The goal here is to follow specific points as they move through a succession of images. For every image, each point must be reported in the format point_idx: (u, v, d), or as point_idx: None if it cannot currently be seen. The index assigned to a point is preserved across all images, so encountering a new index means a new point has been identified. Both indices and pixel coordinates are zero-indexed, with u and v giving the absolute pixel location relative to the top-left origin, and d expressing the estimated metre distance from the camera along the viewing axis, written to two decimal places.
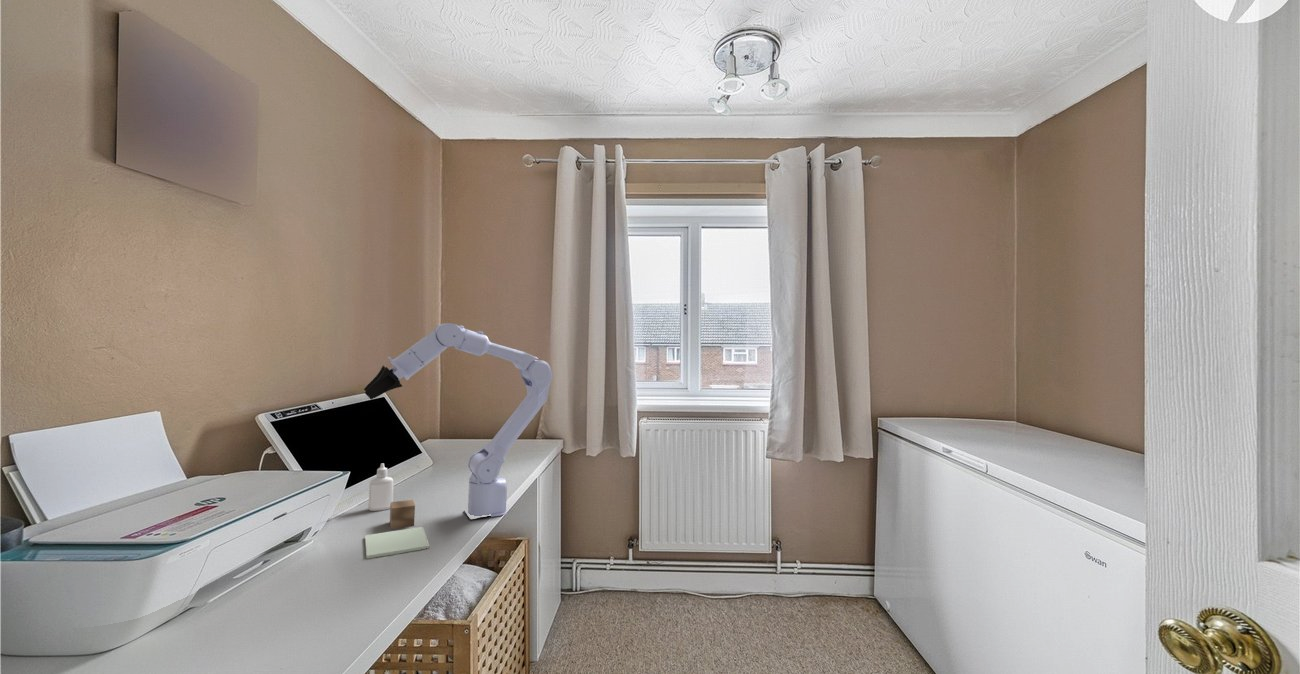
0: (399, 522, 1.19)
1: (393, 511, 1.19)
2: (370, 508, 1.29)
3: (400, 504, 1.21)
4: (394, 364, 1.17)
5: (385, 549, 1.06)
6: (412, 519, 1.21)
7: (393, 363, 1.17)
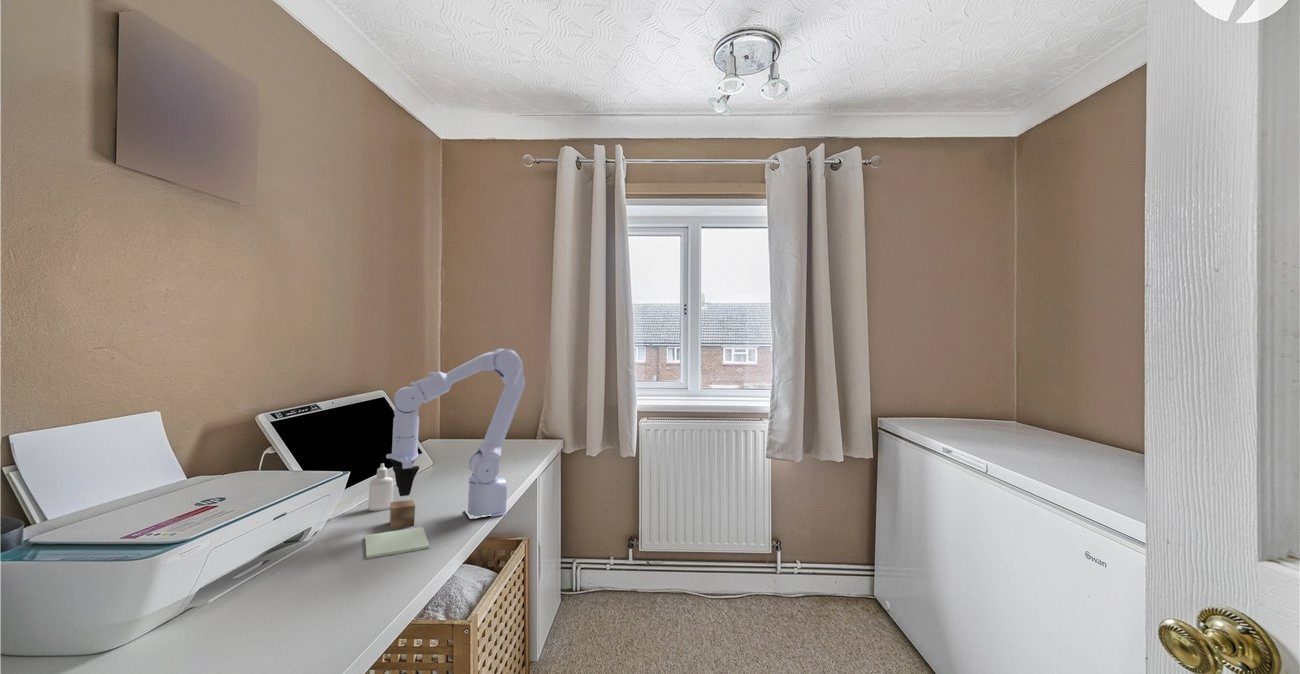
0: (399, 522, 1.19)
1: (393, 511, 1.19)
2: (370, 508, 1.29)
3: (400, 504, 1.21)
4: (396, 459, 1.18)
5: (385, 549, 1.06)
6: (412, 519, 1.21)
7: (394, 458, 1.19)
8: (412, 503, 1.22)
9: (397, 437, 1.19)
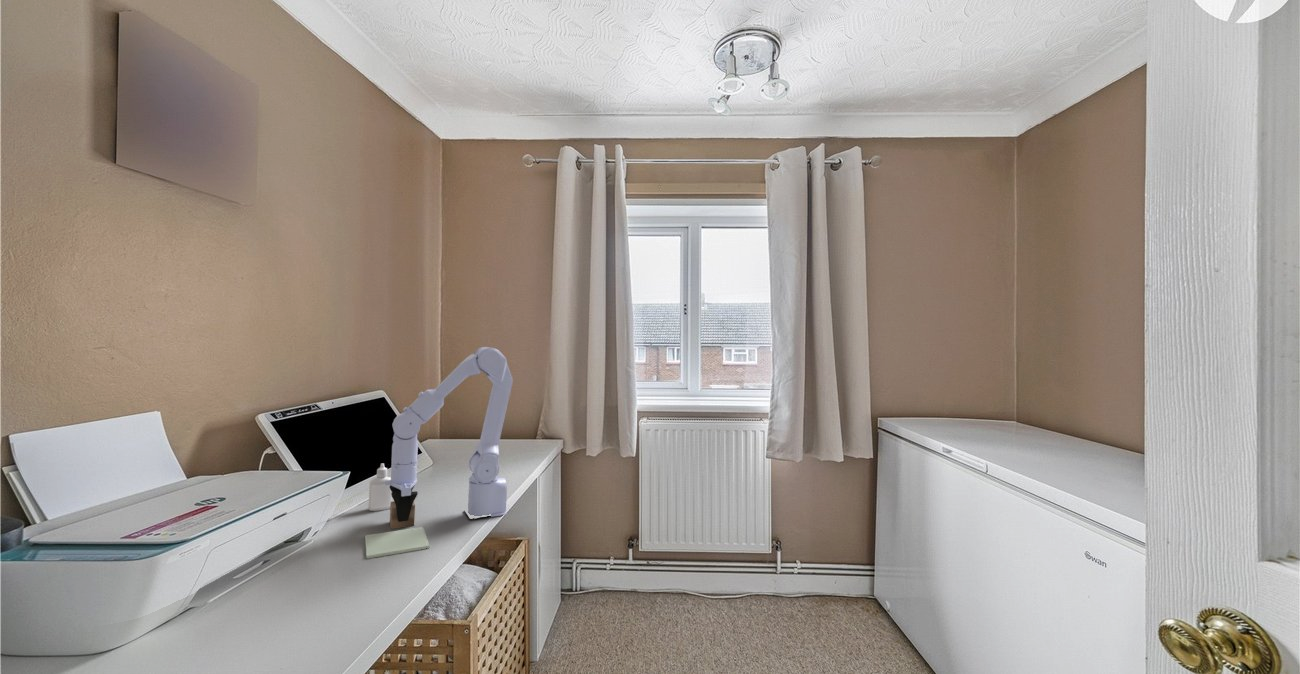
0: (399, 522, 1.19)
1: (393, 511, 1.19)
2: (370, 508, 1.29)
3: None
4: (395, 486, 1.18)
5: (385, 549, 1.06)
6: (412, 519, 1.21)
7: (393, 485, 1.19)
8: None
9: (396, 464, 1.19)
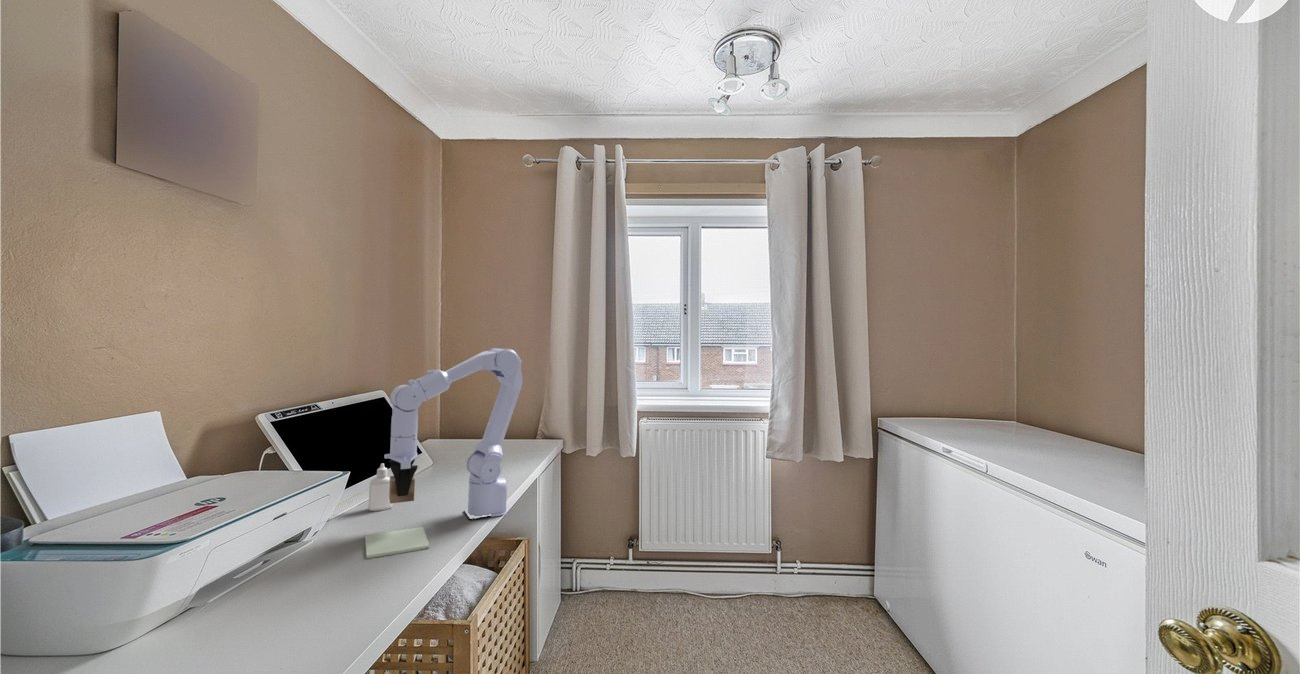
0: (399, 496, 1.16)
1: (392, 485, 1.15)
2: (370, 508, 1.29)
3: None
4: (394, 459, 1.15)
5: (385, 549, 1.06)
6: (412, 493, 1.17)
7: (393, 458, 1.15)
8: None
9: (395, 436, 1.16)
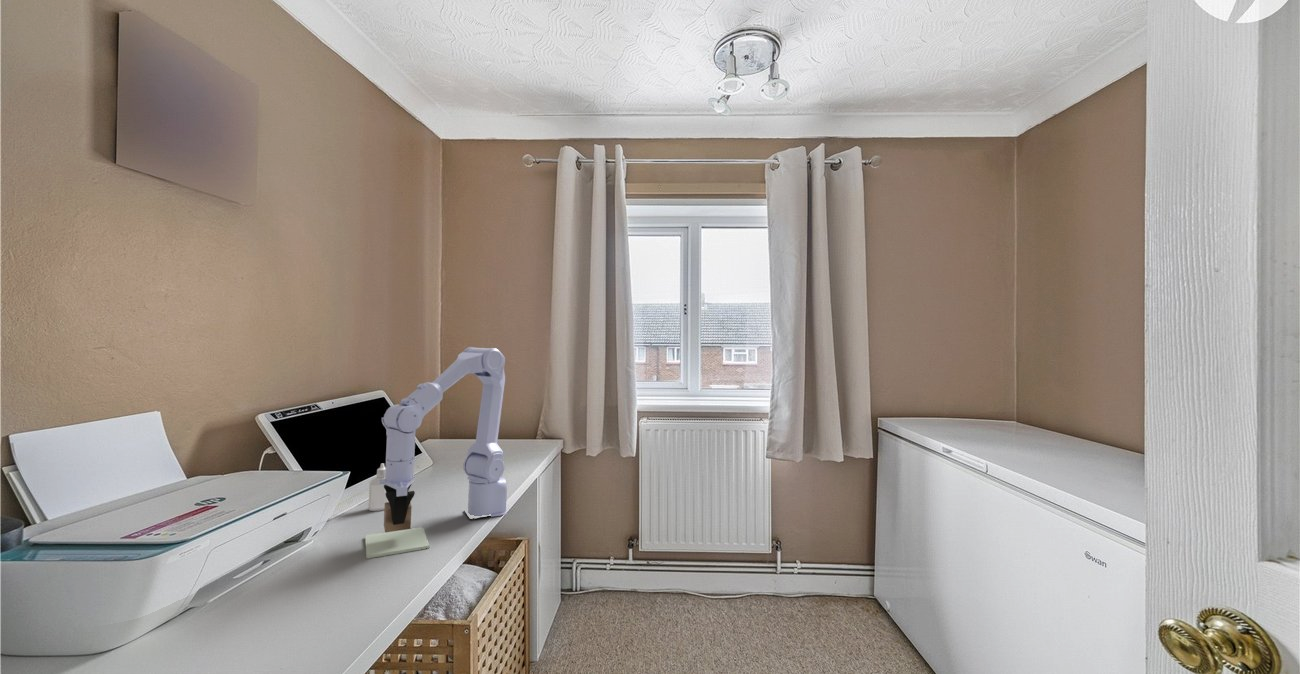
0: (394, 525, 1.08)
1: (387, 512, 1.07)
2: (370, 508, 1.29)
3: None
4: (389, 485, 1.07)
5: (385, 549, 1.06)
6: (408, 521, 1.09)
7: (388, 484, 1.07)
8: None
9: (391, 461, 1.08)
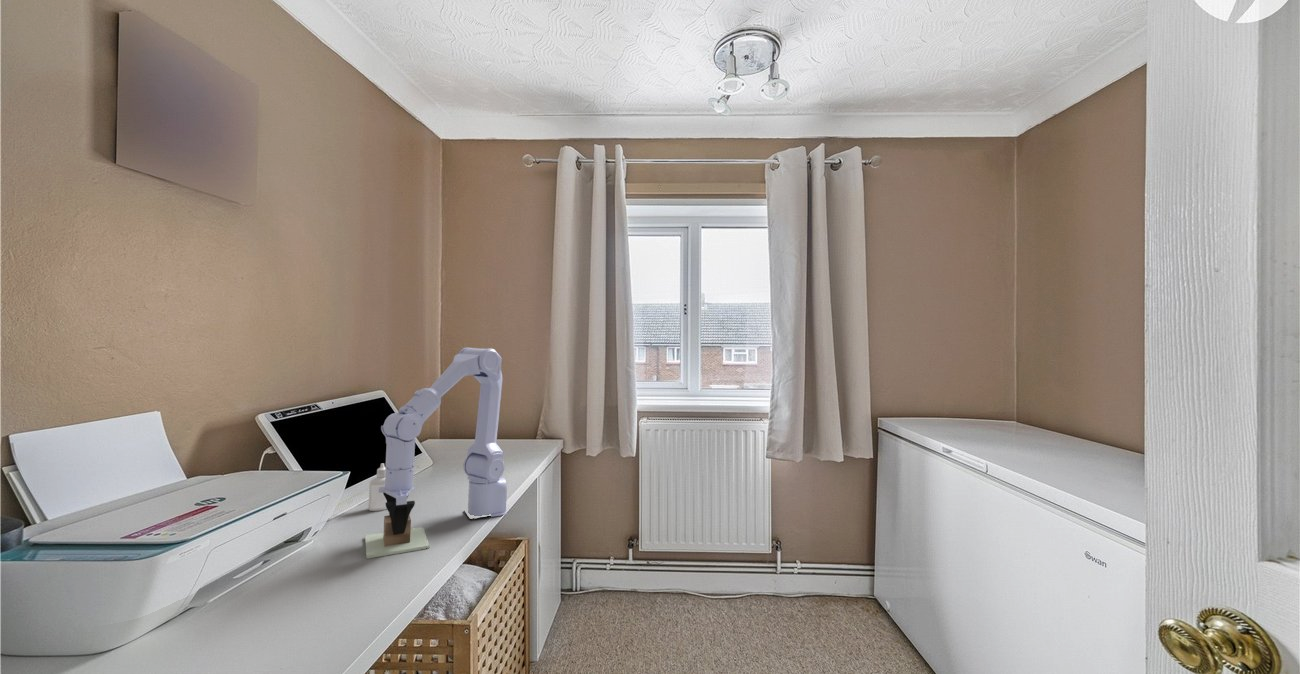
0: (394, 538, 1.08)
1: (387, 526, 1.07)
2: (370, 508, 1.29)
3: None
4: (389, 493, 1.07)
5: (385, 549, 1.06)
6: (408, 535, 1.09)
7: (387, 493, 1.07)
8: (408, 517, 1.11)
9: (390, 469, 1.08)
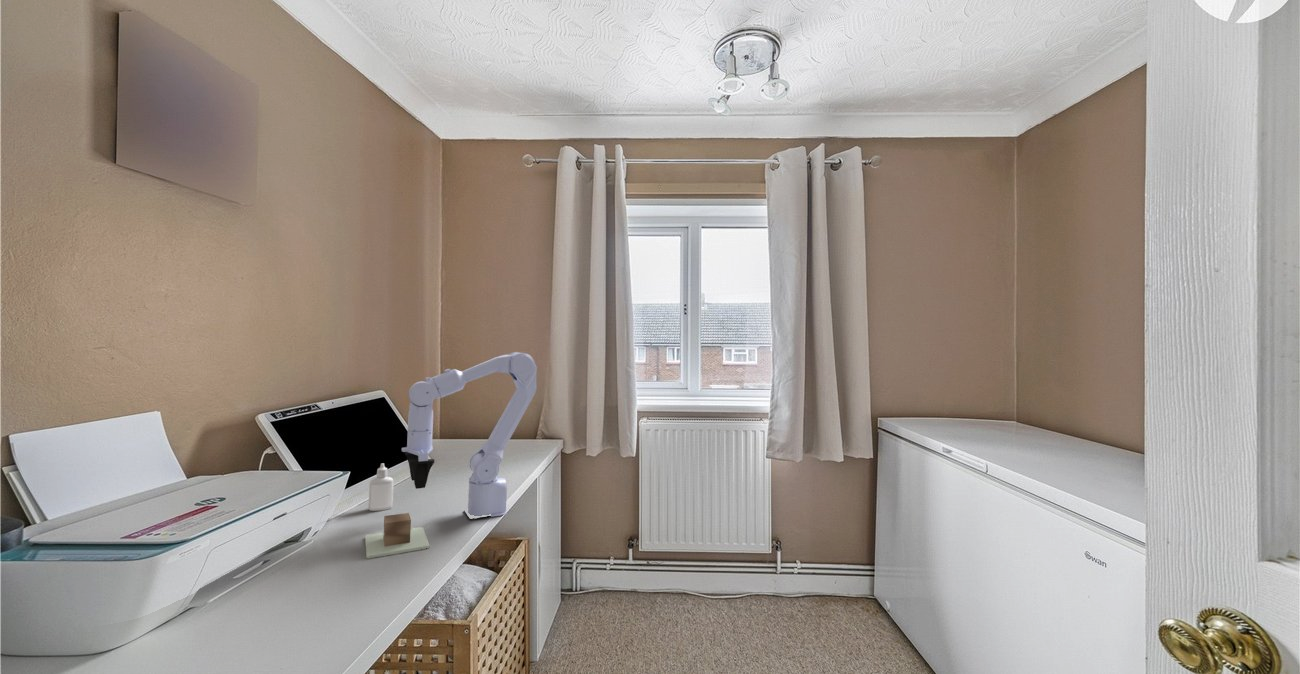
0: (394, 538, 1.08)
1: (387, 526, 1.07)
2: (370, 508, 1.29)
3: (394, 518, 1.10)
4: (411, 452, 1.20)
5: (385, 549, 1.06)
6: (408, 535, 1.09)
7: (410, 451, 1.21)
8: (408, 517, 1.11)
9: (412, 431, 1.21)
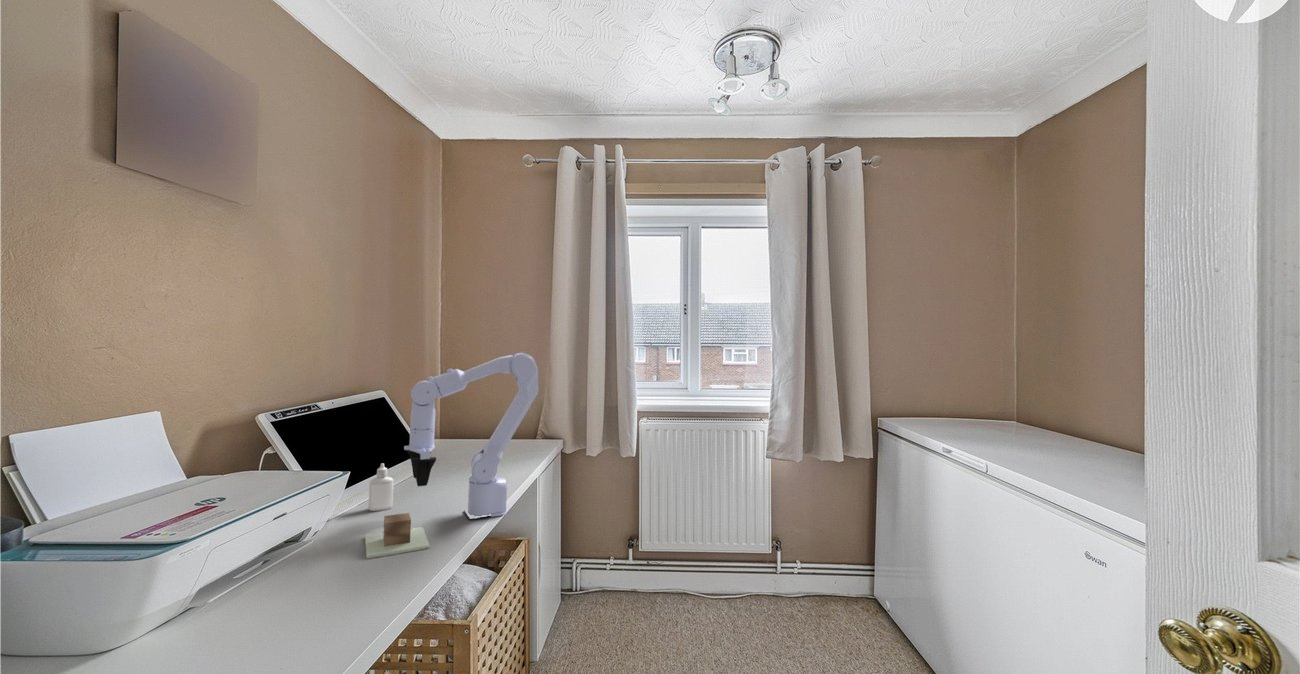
0: (394, 538, 1.08)
1: (387, 526, 1.07)
2: (370, 508, 1.29)
3: (394, 518, 1.10)
4: (414, 450, 1.22)
5: (385, 549, 1.06)
6: (408, 535, 1.09)
7: (412, 449, 1.22)
8: (408, 517, 1.11)
9: (415, 429, 1.23)
